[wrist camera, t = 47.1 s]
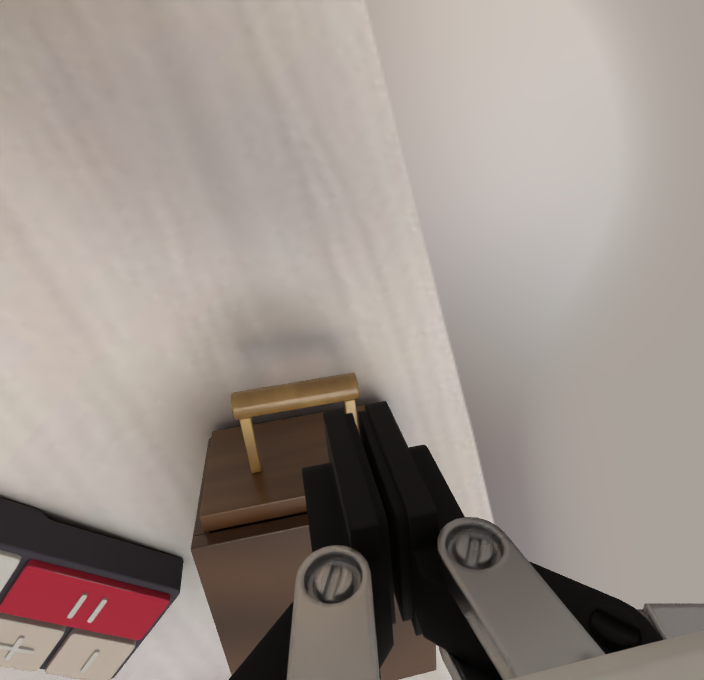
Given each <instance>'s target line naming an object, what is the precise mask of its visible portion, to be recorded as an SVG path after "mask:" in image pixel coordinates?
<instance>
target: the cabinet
mask: <svg viewBox="0 0 704 680" xmlns="http://www.w3.org/2000/svg"><path fill="white" fill-rule="evenodd" d="M389 409H390V408H389ZM390 411H391V410H390ZM391 413H392V412H391ZM392 415H393V414H392ZM393 417H394V416H393ZM394 419H395V418H394ZM395 421H396V420H395ZM397 426H398V425H397ZM398 428H399V427H398ZM399 430H400V429H399ZM400 432H401V431H400ZM401 434H402V433H401ZM402 436H403V435H402ZM403 438H404V437H403ZM404 440H405V439H404ZM405 443H406V442H405ZM210 445H211V439H209V442H208V448H207V454H206V460H205V466H204V472H203V478H202V484H201V491H200V497H199V503H198V509H197V515H196V521H195V527H194V533H193V539H192V545H191V552H192V555H193V558H194V561H195V564H196V567H197V570H198V573H199V576H200V579H201V583H202V586H203V589H204V592H205V595H206V598H207V601H208V604H209V607H210V610H211V613H212V616H213V619H214V622H215V625H216V629H217V632H218V635H219V638H220V641H221V644H222V647H223V650H224V653H225V656H226V659H227V662H228V665H229V668H230V672H231V675H233V674H234V672H235V671H236V670H237V669H238V668H239V666H240V665H241V664H242V663H243V662H244V660H245V659H246V658H247V657H248V655H249V654H250V653H251V652H252V651H253V649H254V648H255V647H256V646H257V645H258V643H259V642H260V641H261V640H262V638H263V637H264V636H265V635H266V634H267V632H268V631H269V630H270V629H271V628H272V626H273V625H274V624H275V623H276V621H277V620H278V619H279V618H280V617H281V615H282V614H283V613H284V612H285V611H286V609H287V608H288V607H289V606H290V604H291V603H292V602H293V601H294V592H295V581H296V576H297V572H298V569H299V567H300V566H301V564H302V563H303V561H304V560H305V559H306V558H307V557H308V556H309V555H310V554H312V547H311V539H310V531H309V524H308V516H307V514H302V515H297V516H292V517H288V518H283V519H278V520H273V521H268V522H263V523H258V524H253V525H248V526H243V527H238V528H233V529H228V530H226V528H224V529H219V530H214V531H209V532H204V530H203V527H202V524H201V520H200V517H199V516H200V510H201V503H202V497H203V490H204V484H205V477H206V471H207V465H208V458H209V452H210ZM406 445H407V444H406ZM407 447H408V446H407ZM394 603H395V616H396V624H392V626H393V639H394V645H393V647H392V649H391V651H390V652H389V654H388V656H387V658H386V659H385V661H384V663H383V664H382V666H381V679H382V680H399V679H402V678H406V677H410V676H414V675H418V674H422V673H426V672H430V671H434V670H436V644H434V643H433V642H431V641H429V640H427V639H426V638H424V637H423V634H422V635H418V636H416V634H415V631H414V628H413V625H412V622H411V620H409V621H404V622H403V621H402V618H401V615H400V612H399V608H398V605H397V601H396V598H395V595H394Z"/></svg>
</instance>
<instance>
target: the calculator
mask: <svg viewBox="0 0 704 680" xmlns="http://www.w3.org/2000/svg"><path fill="white" fill-rule="evenodd" d="M182 569H183V560H182V559H181V558H178V557H175V556H171V555H168V554H164V553H161V552H158V551H154V550H151V549H147V548H144V547H140V546H137V545H134V544H130V543H127V542H123V541H120V540H117V539H113V538H110V537H106V536H103V535H100V534H96V533H93V532H89V531H86V530H82V529H79V528H76V527H72V526H69V525H65V524H62V523H59V522H55V521H52V520H49V519H48V518H47V517H46V516H45V515H44V514H43V513H42V512H41V511H40V510H38V509H36V508H33V507H29V506H26V505H23V504H19V503H16V502H13V501H9V500H6V499H3V498H0V666H1V667H7V668H13V669H19V670H26V671H37V670H38V669H46V670H45V673H47V674H51V675H57V676H63V677H69V678H76V679H82V680H110V679H112V678H114V677H115V676H116V674H117V673H118V672H119V670H120V669H121V668H122V667H123V665H124V664H125V663H126V662H127V660H128V659H129V658H130V656H131V655H132V654H133V653H134V651H135V650H136V649H137V647H138V646H139V645H140V644H141V642H142V641H143V640H144V639H145V637H146V636H147V635H148V633H149V632H150V631H151V630H152V628H153V627H154V626H155V624H156V623H157V622H158V621H159V619H160V618H161V617H162V615H163V614H164V613H165V612H166V610H167V609H168V608H169V607H170V605H171V604H172V603H173V601H174V600H175V599H176V598H177V596H178V595H179V593H180V586H181V578H182Z"/></svg>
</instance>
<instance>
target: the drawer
mask: <svg viewBox="0 0 704 680" xmlns="http://www.w3.org/2000/svg"><path fill="white" fill-rule="evenodd" d="M357 398H359V388H358V382H357V378H356V375H355V373H348V374H342V375H336V376H330V377H324V378H318V379H312V380H306V381H300V382H294V383H288V384H282V385H276V386H270V387H264V388H258V389H252V390H246V391H240V392H234V393H232V394H231V406H232V412H233V416H234V418H235V419H240V424H241V427H237V428H231V429H225V430H220V431H214V432H213V433H212V439H211V445H210V452H209V458H208V465H207V471H206V477H205V484H204V490H203V497H202V503H201V510H200V516H199V517H200V520H201V524H202V527H203V530H204V532H209V531H214V530H219V529H224V528H226V530H228V529H233V528H238V527H243V526H248V525H253V524H254V522H258V521H263V520H268V519H273V518H278V517H283V516H288V515H293V514H298V513H303V512H307V508H306V500H305V492H304V484H303V476H302V468H304V467H309V466H314V465H320V464H325V463H329V457H328V450H327V443H326V435H325V428H324V421H323V412H322V413H316V414H311V415H305V416H299V417H294V418H288V419H282V420H276V421H271V422H265V423H259V424H254V425H253V423H252V419H251V417H254V416H260V415H265V414H271V413H277V412H283V411H288V410H294V409H300V408H306V407H311V406H317V405H323V404H329V403H335V402H340V401H344V406H345V409H343V410H344V413H345V414H346V413H352V414H353V416H354V419H355V422H356V425H357V429H358V432H359V435H360V431H359V421H358V411H363V410H365V405H362V406H356V404H355V399H357Z"/></svg>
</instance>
